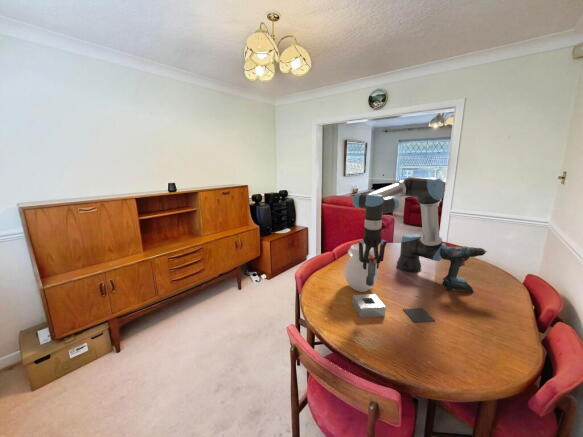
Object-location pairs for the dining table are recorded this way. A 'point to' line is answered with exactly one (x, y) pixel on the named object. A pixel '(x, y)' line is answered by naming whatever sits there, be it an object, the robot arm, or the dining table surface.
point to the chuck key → (370, 270)
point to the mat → (418, 315)
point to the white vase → (357, 270)
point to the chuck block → (368, 305)
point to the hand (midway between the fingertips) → (370, 274)
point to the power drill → (457, 260)
